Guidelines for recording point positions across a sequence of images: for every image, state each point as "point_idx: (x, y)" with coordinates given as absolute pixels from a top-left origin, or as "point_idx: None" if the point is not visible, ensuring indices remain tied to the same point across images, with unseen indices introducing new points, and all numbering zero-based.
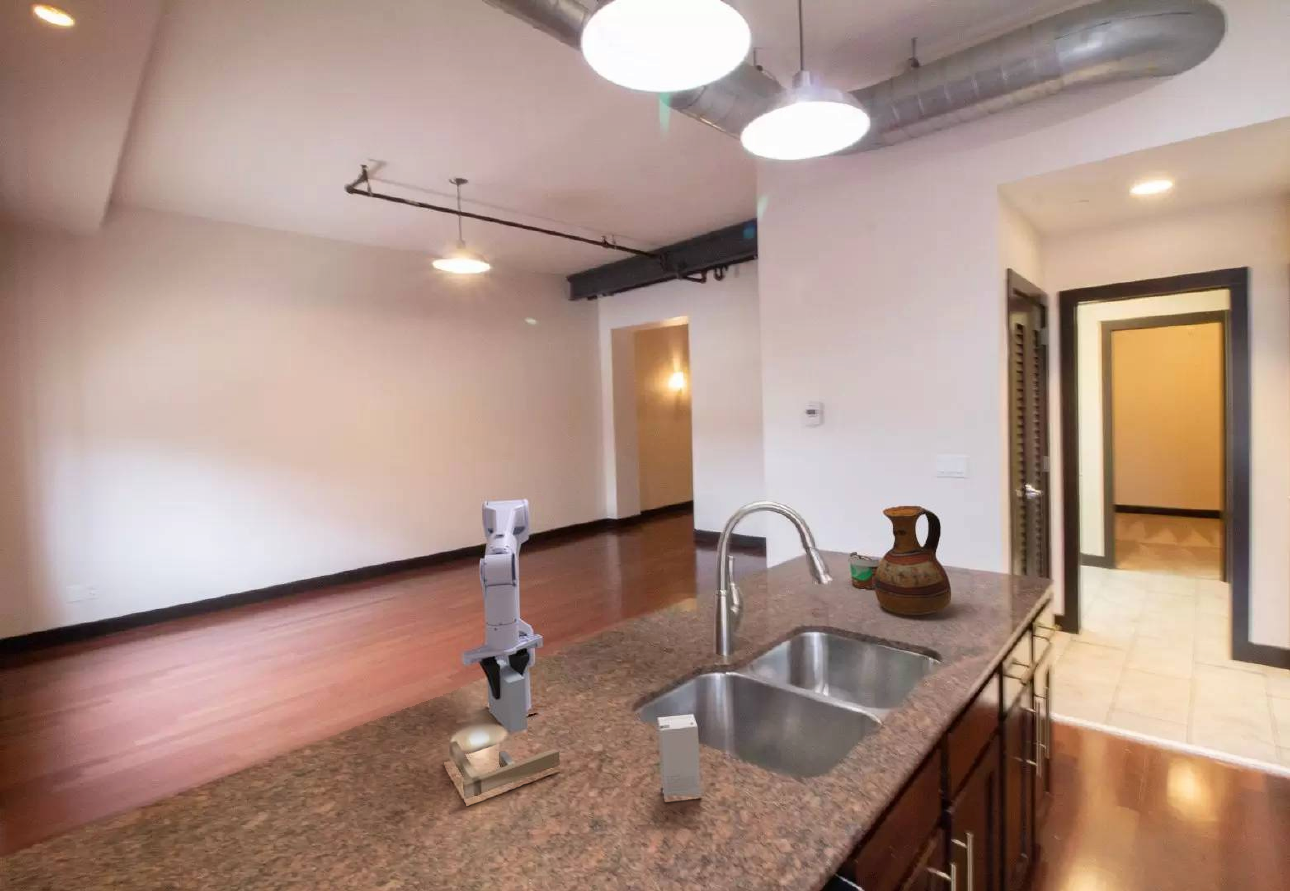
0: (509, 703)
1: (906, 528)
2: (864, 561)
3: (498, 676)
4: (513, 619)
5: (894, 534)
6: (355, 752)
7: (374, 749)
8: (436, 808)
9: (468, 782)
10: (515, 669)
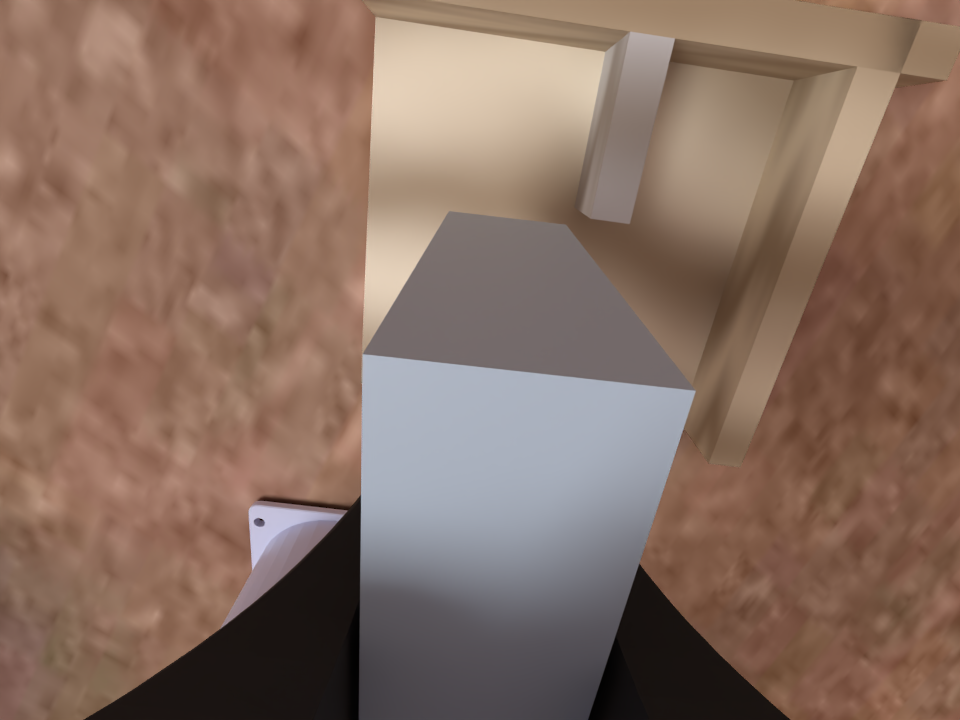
0: (608, 282)
1: None
2: None
3: (638, 663)
4: None
5: None
6: (860, 664)
7: (814, 646)
8: (946, 154)
9: (941, 39)
10: (345, 686)
